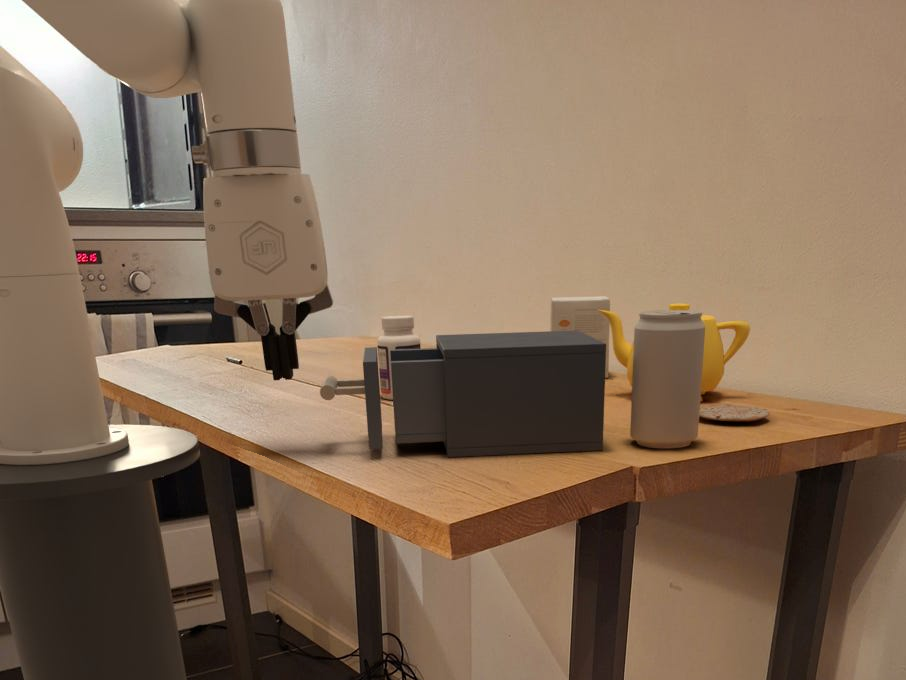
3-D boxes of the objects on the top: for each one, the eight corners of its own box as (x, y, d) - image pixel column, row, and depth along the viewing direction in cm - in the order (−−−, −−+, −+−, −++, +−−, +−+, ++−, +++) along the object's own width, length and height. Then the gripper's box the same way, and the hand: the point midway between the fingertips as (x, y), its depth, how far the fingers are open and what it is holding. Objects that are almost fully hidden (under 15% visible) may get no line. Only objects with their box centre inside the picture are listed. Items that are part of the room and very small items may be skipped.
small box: (605, 373, 131) (607, 295, 127) (608, 378, 126) (611, 298, 121) (549, 374, 131) (550, 297, 127) (551, 379, 126) (551, 299, 122)
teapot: (588, 401, 109) (590, 307, 105) (602, 387, 119) (605, 300, 114) (742, 405, 104) (752, 307, 100) (744, 390, 114) (752, 300, 110)
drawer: (323, 451, 83) (314, 363, 80) (329, 427, 93) (322, 349, 90) (514, 443, 84) (513, 356, 81) (499, 420, 95) (498, 342, 91)
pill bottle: (428, 393, 117) (424, 314, 113) (416, 400, 113) (411, 318, 109) (388, 393, 119) (383, 314, 115) (375, 400, 114) (369, 318, 110)
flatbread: (678, 416, 98) (679, 407, 98) (729, 408, 102) (730, 399, 101) (734, 428, 92) (735, 418, 92) (785, 419, 95) (786, 409, 95)
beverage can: (674, 453, 83) (683, 315, 78) (616, 444, 87) (621, 312, 82) (709, 441, 87) (720, 309, 82) (652, 433, 91) (659, 307, 86)
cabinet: (447, 457, 83) (443, 349, 80) (439, 430, 95) (435, 335, 91) (602, 450, 85) (606, 343, 81) (576, 425, 96) (578, 330, 92)
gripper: (157, 158, 74) (195, 389, 81) (341, 151, 75) (362, 379, 82) (176, 165, 81) (210, 377, 88) (344, 158, 82) (363, 368, 89)
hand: (283, 377), depth 85 cm, fingers closed
